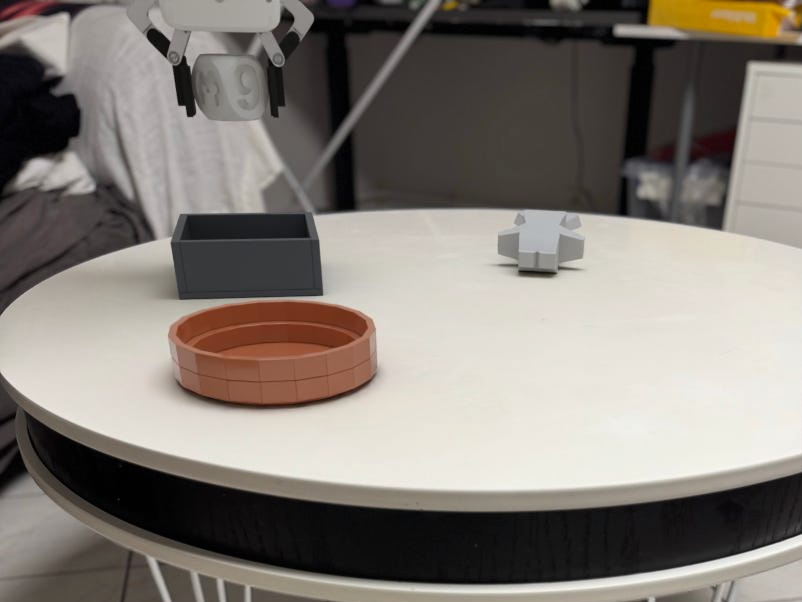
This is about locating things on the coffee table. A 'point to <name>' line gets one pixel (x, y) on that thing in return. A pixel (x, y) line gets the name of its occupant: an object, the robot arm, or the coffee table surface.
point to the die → (230, 87)
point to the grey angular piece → (542, 240)
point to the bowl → (273, 351)
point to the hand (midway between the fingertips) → (233, 114)
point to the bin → (246, 255)
